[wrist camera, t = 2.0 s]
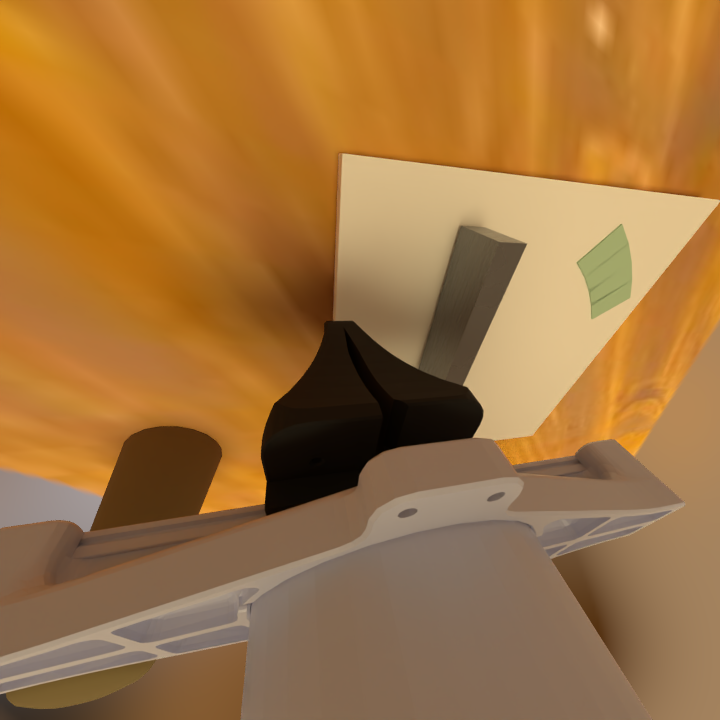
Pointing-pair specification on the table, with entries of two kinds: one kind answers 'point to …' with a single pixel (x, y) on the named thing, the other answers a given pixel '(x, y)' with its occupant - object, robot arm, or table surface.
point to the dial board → (529, 282)
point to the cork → (129, 507)
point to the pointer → (469, 300)
